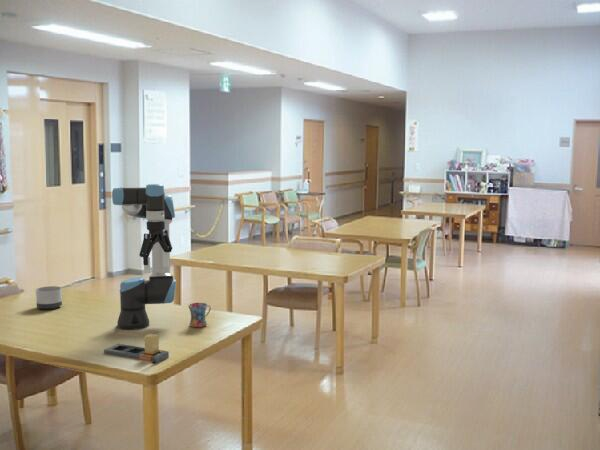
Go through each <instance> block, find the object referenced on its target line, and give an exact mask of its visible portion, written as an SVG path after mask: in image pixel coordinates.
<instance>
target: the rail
mask: <svg viewBox="0 0 600 450" xmlns="http://www.w3.org/2000/svg"><path fill="white" fill-rule="evenodd" d="M103 354H105V355H112V356H116V357H117V356H119V357H124V358H129V359H130V358H131V359H136V360H139V361H140V360H141V361H147V362H151V364H153V365H157V364H159V363H160V362H163V361H165V360H166V359H168V358H169V357H170V356H169V354H170V353H169V350H168V351H167V350H164V349H163V350H162V349H159V354H157V355H155V356H152V355H146V354H145V347H141V346H135V345H127V344H121V343H116V344H115V345H112V346H110V347H107V348H105V349H103Z"/></svg>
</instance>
